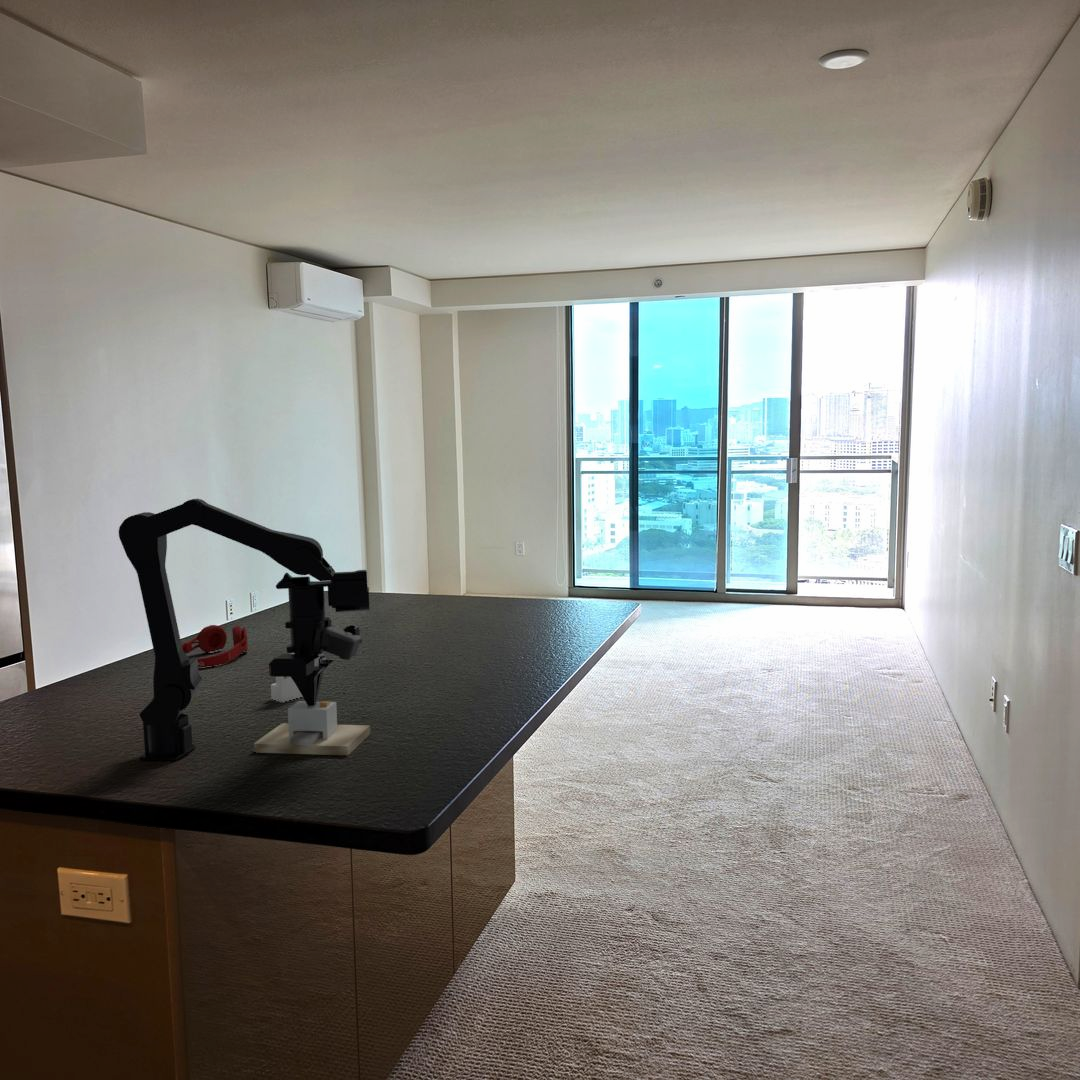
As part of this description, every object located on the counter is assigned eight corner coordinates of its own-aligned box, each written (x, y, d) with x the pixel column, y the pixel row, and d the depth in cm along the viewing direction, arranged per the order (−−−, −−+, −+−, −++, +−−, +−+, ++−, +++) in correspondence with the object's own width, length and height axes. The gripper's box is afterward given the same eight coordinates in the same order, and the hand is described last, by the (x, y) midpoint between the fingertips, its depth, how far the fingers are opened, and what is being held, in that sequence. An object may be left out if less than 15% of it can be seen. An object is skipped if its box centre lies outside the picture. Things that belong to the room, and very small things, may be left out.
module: (289, 738, 150) (287, 705, 150) (299, 729, 155) (298, 697, 154) (327, 739, 149) (326, 706, 149) (337, 730, 154) (336, 698, 153)
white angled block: (324, 679, 185) (304, 647, 181) (289, 713, 179) (268, 680, 175) (313, 676, 187) (293, 644, 183) (278, 710, 181) (257, 678, 177)
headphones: (208, 647, 228) (160, 678, 209) (205, 620, 226) (155, 649, 207) (262, 649, 225) (217, 680, 206) (258, 622, 223) (213, 651, 204)
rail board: (254, 752, 148) (253, 737, 148) (282, 731, 159) (281, 717, 159) (347, 755, 146) (347, 740, 145) (370, 733, 156) (369, 719, 156)
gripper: (333, 625, 140) (337, 723, 141) (372, 604, 158) (376, 691, 160) (265, 624, 141) (270, 722, 143) (311, 603, 160) (315, 690, 161)
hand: (311, 705), depth 152 cm, fingers closed, pressing on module
